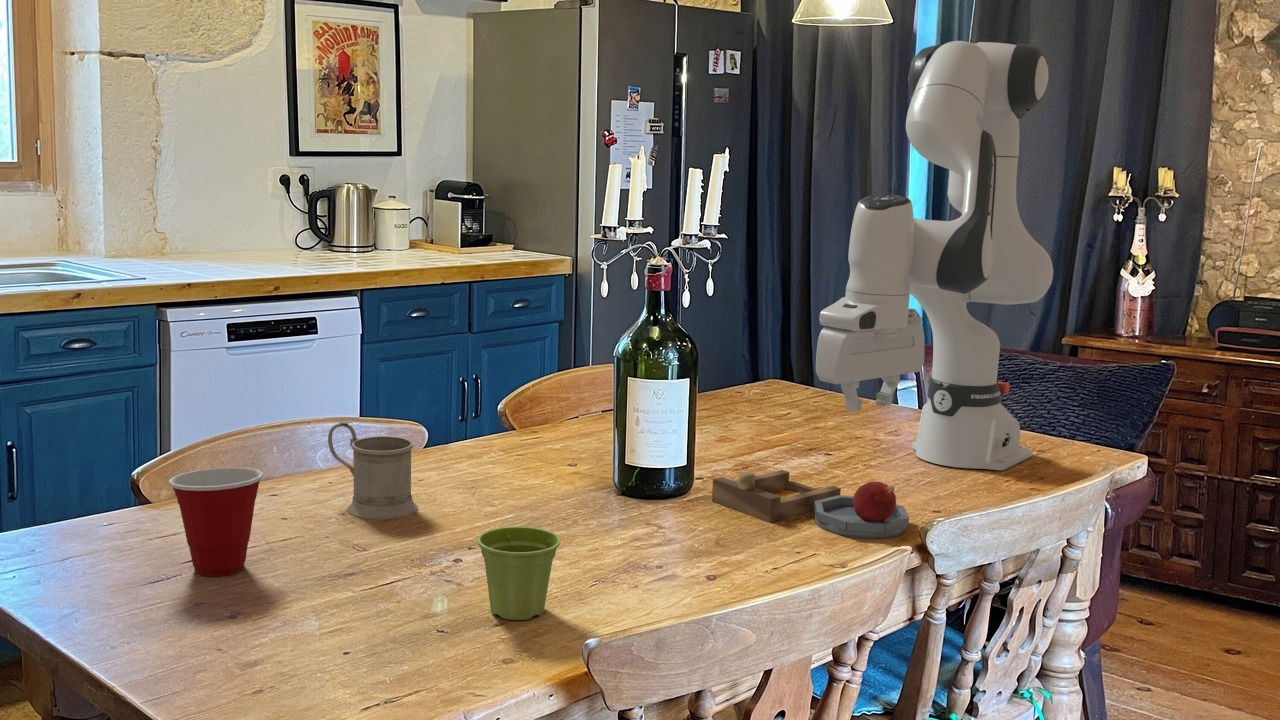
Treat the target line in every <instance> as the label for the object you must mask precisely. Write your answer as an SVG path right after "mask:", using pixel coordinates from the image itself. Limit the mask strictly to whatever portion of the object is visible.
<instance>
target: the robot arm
mask: <svg viewBox="0 0 1280 720" xmlns="http://www.w3.org/2000/svg"><path fill="white" fill-rule="evenodd" d="M907 79H908V91H909V96H910V98H911V100H910V103H909V107H908V109H907V115H906V119H905V120H906V121H905V132H906V136H907V139H908V141H909V143H910V145H911V146H912V147H913V148H914V150H915V151H916V152H917V153H918V154H919V155H920V156H922V158H924V159H925V160H927V161H929V162H931V163H932V164H933V165H936V166H939V167H941V168H944V169H948V170H949V173H948V184H947V197H948V201H949V203H950V205H951V206H952V207H953V208H954V209H955V210H957V211H958V212H959V213H961V216H960V217H958V218H956V219H953V220H948V221H947V220H938V219H937V220H935V219H923V218H914V207H913V203H912V202H913V201H912V200H911V199H910V198H908V197H905V196H902V195H898V194H887V193H886V194H884V193H883V194H877V195H875V194H874V195H869V196H866V197H864V198H862V199H860V200H859V201H858V202H857V205H856V207H855V211H854V215H853V219H852V224H851V230H850V237H849V243H848V245H849V246H848V256H847V257H848V259H847V261H848V264H849V277H848V280H847V284H846V286H845V295H844V296H843V297H841V298H839V300H837V301H835V302H834V303H832V304H831V305H829V306H827V307H825V308H823V309H822V310H821V311H820V313H819V318H818V319H819V324H820V326H824V327H823V328H822V329H821V330H820V333H819V334H818V335H819V336H818V337H817V338H818V339H817V346H816V354H815V355H816V356H815V358H816V359H815V373H816V376H817V377H818V379H819V381H821V382H825V383H829V384H832V385H840V388H841V390H842V393H843V396H844V398H845V404H844V405H845V406H844V408H845V411H847V412H851V413H857V412H860V411H861V410H862V405H863V398H859V396H858V391H857V389H859V388H860V382H861V381H867V380H874V379H881V380H882V381H883V383H882V385H881V388H880V391H879V392H877V393H876V396H875V397H876V400H875V404H876V405H877V406H879V407H884V408H885V407H889V406H892V404H893V395H894V393H895V391H896V389H897V387H898V385H899V384H900V377H901V375H907V374H912V373H913V374H914V373H919V372H921V370H922V368H923V366H924V364H925V332H924V327H923V325H922V316H921V315H920V314H919V312H918V311H917V310H916V309H915V308H909V306H910V296H912V297H913V298H915V300H916V301H917V302H918V304H919V305H920V306H921V308H922V309H923V311H924V312H925V315H926V317H927V318H928V321H929V323H930V328H931V333H932V352H933V353H932V368H931V376H929V379H928V383H927V388H926V389H927V398H928V400H927V402H926V403H925V404H924V405H923V406H922V409H921V410H922V411H921V415H920V420H919V425H918V431H917V437H916V440H914V441H913V440H912V442H911V448H912V449H913V450H914V451H915V452H914V453H915V456H916V457H917V458H919V459H921V460H923V461H926V462H929V463H932V464H937V465H940V466H945V467H952V468H962V469H980V470H981V469H984V470H992V471H993V470H994V471H1005V470H1007V469H1009V468H1010V467H1013V466H1015V465H1017V464H1019V463H1021V462H1023V461H1025V460H1027V459H1029V458H1031V457H1032V456H1033V450H1032V449H1030V448H1028V447H1026V446H1023V445H1021V444H1020V441H1021V439H1020V438H1021V426H1020V422H1019V421H1018V420H1017V419H1016V418H1015V417H1014V416H1013V415H1012V414H1011V413H1010V412H1009V411H1008V410H1007V409H1006V407H1005V406H1003V404H1002V403H1001V402H1002V396H1001V394H1003V395H1009V392H1010V391H1011V390H1010V389H1011V385H1010V383H1009V382H1003V381H997V380H998V370H999V360H1000V349H1001V343H1000V339H999V336H998V335H997V333H996V332H995V331H994V330H993V329H992V328H991V327H988V326H987V325H986V324H984V323H983V322H981V321H979V320H977V319H976V318H974V317H973V316H972V315H971V314H970V313H969V311H968V308H967V303H971V302H972V303H973V302H974V303H982V304H983V303H985V304H994V305H995V304H996V305H1006V306H1007V305H1010V306H1011V305H1012V306H1013V305H1020V304H1021V305H1022V304H1030V303H1037V302H1039V301H1040V299H1042V298H1044V296H1045V295H1046V294H1047V292H1048V290H1049V289H1050V288H1051V286H1052V282H1053V279H1054V278H1053V277H1054V266H1053V261H1052V259H1051V257H1050V255H1049V254H1048V252H1047V250H1046V249H1045V248H1044V247H1043V246H1042V245H1041V244H1040V243H1039V242H1037V241H1036V240H1035V239H1034V238H1033V237H1032V235H1031V234H1030V232H1028V230H1027V229H1026V227H1025V226H1024V223H1023V221H1022V219H1021V217H1020V213H1019V210H1018V202H1017V180H1018V179H1017V178H1018V166H1019V165H1018V163H1019V151H1020V120H1021V119H1023V117H1025V115H1026V113H1027V112H1030V111H1032V110H1033V109H1034V108H1036V106H1037V105H1039V103H1040V102H1041V101H1042V100H1043V97H1044V95H1045V91H1046V90H1047V86H1048V84H1049V67H1048V64H1047V58H1046V55H1045V53H1044V52H1043V50H1041V49H1040V47H1038V46H1035V45H1032V44H1028V43H1021V42H1019V43H1017V44H1011V43H1003V42H995V41H994V42H993V41H989V42H988V41H978V42H976V43H972V42H970V41H966V40H965V41H964V40H953V41H948V42H946V43H944V44H937V45H929V46H926V47H924V48H922V49H920V51H919V52H917V54H915V55H914V57H913V58H912V60H911V63H910V67H909V71H908V77H907Z"/></svg>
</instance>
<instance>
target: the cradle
mask: <svg viewBox="0 0 1280 720" xmlns="http://www.w3.org/2000/svg"><path fill="white" fill-rule="evenodd" d="M711 488H712V493H711V502H712V503H716V504H718V505H721V506H724V507H726V508H728V509H731V510H732V509H733V510H735V511H738V512H741V513H742V514H746V515H749V516H751V517H755V518H756V519H760V520H763V521H766V522H768V523H771V522H775V521H780V520H784V519H787V518H791V517H795V516H799V515H803V514H807V513H811V512H815V511H814V503H815V501H817V500H821V499H825V498H829V497H833V496H837V495H841V491H842V490H841V488H840V487H839V486H838V487H837V486H835V485H833V486H828V487H823V488H819V489H818V488H814V487H812V486H809V485H806V484H803V483H799V482H796V481H793V480H790V471H787V470H784V469H781V470H776V471H773V472H768V473H762V474H759V475H755V473H753V472H745V471H744V472H739V473H738V479H737V480H736V479H734V480H732V479H730V478H726V477H724V476H721V477H715V478H712V487H711ZM783 489H788V490H791V491H794V492H798V493H799V494H794V495H790V496H786V497H782V498H781V496H780V495H777V494H775V493H771V492H775V491H779V490H783Z"/></svg>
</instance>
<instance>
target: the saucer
mask: <svg viewBox="0 0 1280 720" xmlns="http://www.w3.org/2000/svg"><path fill="white" fill-rule="evenodd" d="M853 499H854V495H841V494H840V495H837V496H833V497H829V498H825V499H821V500H817V501H815V503H814V511H813V512H814V523H815V524H816V525H817V526H818V527H820V528H821V529H822V530H825V531H826V532H830V533H833V534H836V535H839V536H844V537H849V538H856V539H868V540H869V539H870V540H872V539H873V540H874V538H875V539H876V538H881V539H886V538H885V537H890V538H893V537H892V536H895V537H897V535H898V536H900V535H902V534H904V533H905V532H906V529H907V527H909V524H910V523H909V521H910V517H909V514H908V512H907V511H906V508H905V506H903V505H901V504H897V503H896V506H895V509H894V512H893V513H892V515H891V516H890V517H889V518H887V519H886V520H885V521H884V522H871V521H863V520H862V519H861V518H860V517H859V516H857V514H856V512H855V510H854V506H853ZM904 531H905V532H904ZM903 532H904V533H903ZM901 533H902V534H901Z"/></svg>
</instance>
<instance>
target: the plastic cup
mask: <svg viewBox="0 0 1280 720" xmlns="http://www.w3.org/2000/svg"><path fill="white" fill-rule="evenodd" d="M263 476H264V472H262V471H261V470H260V469H255V468H249V467H215V468H205V469H198V470H193V471H189V472H187V471H186V472H183V473H181V474H177V475H175V476H172V477H171V478H170V479H169V480H168V484H169V486H171V487H172V490H173V491H174V494H175V497H176V499H177V504H178V505H179V509H180V514H181V519H182V523H183V529H184V533H185V537H186V542H187V545H188V548H189V553H190V558H191V562H192V566H193V567H194V568H193V569H194V571H195V572H196V574H198V575H201V576H205V577H225V576H232V575H233V574H238V573H239V572H241V571H243V569H244V567H245V563H246V560H247V553H248V547H249V546H248V545H249V541H250V538H251V530H252V524H253V519H254V512H255V511H254V510H255V505H256V499H257V495H258V490H259V487H260V486H259V485H260V482H261V480H262V479H263Z"/></svg>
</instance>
